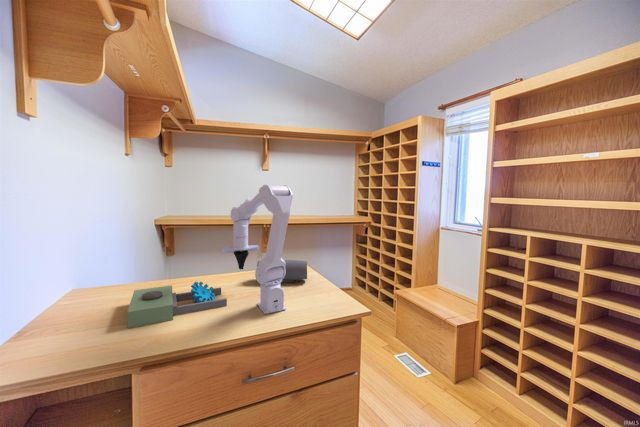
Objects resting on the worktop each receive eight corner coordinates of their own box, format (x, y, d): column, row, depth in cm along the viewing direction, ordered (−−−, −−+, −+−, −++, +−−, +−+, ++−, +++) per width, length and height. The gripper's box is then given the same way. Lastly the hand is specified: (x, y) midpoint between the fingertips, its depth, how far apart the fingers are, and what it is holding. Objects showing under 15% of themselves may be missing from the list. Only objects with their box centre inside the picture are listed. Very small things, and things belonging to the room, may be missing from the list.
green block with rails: (228, 309, 96) (228, 292, 95) (127, 328, 81) (126, 308, 81) (219, 290, 113) (219, 276, 112) (134, 303, 99) (134, 287, 98)
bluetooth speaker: (306, 277, 132) (307, 257, 131) (307, 284, 123) (307, 262, 122) (259, 277, 130) (259, 257, 130) (256, 284, 121) (256, 262, 120)
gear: (204, 305, 95) (188, 283, 97) (192, 316, 95) (177, 293, 97) (222, 297, 105) (207, 277, 107) (211, 307, 106) (197, 287, 108)
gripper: (255, 233, 118) (255, 264, 120) (220, 235, 111) (221, 268, 113) (260, 236, 112) (260, 268, 113) (223, 238, 105) (224, 272, 106)
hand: (241, 268), depth 113 cm, fingers closed
